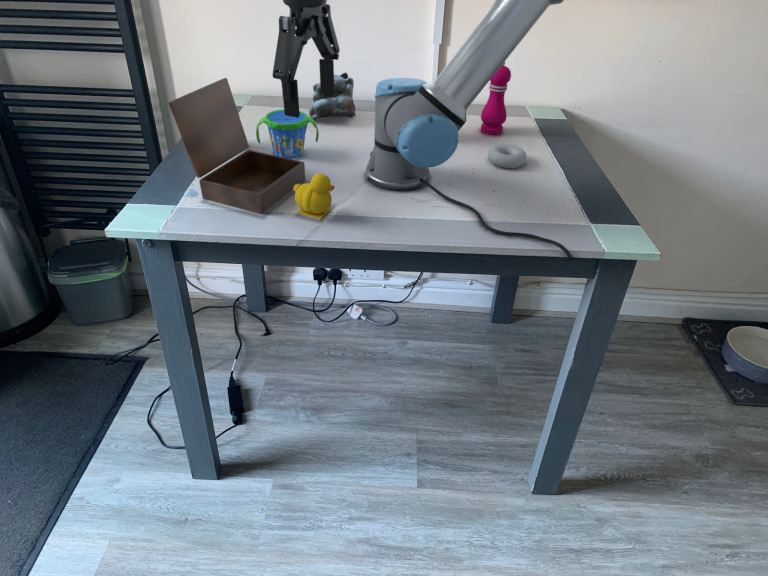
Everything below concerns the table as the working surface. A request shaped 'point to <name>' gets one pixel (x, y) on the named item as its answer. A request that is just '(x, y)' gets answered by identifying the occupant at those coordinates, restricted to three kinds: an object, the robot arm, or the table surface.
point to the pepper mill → (496, 103)
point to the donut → (507, 156)
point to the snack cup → (287, 132)
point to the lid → (209, 126)
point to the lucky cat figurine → (334, 99)
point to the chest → (253, 181)
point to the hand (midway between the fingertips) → (310, 104)
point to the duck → (314, 196)
